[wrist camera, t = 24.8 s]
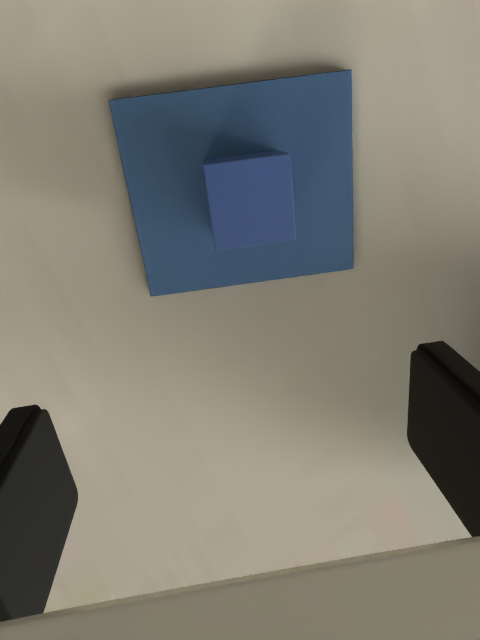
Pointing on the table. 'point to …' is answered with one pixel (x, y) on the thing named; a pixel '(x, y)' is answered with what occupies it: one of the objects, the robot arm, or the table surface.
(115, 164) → the table surface
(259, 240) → the blue block
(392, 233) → the table surface
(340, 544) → the table surface
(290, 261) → the blue mat
